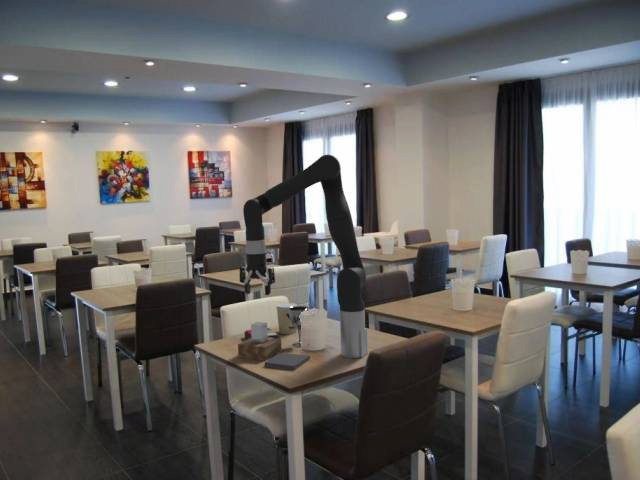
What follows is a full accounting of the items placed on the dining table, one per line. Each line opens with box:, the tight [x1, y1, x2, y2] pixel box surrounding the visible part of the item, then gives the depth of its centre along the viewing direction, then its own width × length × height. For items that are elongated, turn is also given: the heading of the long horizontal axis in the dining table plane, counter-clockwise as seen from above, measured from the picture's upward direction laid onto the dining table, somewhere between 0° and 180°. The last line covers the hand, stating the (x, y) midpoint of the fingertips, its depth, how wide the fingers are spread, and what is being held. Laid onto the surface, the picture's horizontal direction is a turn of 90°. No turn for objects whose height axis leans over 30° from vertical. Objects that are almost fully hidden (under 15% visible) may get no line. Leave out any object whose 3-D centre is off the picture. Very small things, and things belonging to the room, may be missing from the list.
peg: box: [250, 321, 268, 344], centre depth 205 cm, size 4×4×12 cm
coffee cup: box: [276, 302, 298, 335], centre depth 236 cm, size 9×9×12 cm
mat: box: [264, 352, 311, 371], centre depth 193 cm, size 12×12×2 cm
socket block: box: [237, 337, 283, 361], centre depth 205 cm, size 12×12×5 cm
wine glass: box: [289, 305, 310, 348], centre depth 215 cm, size 8×8×15 cm
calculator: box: [244, 327, 279, 340], centre depth 225 cm, size 11×4×15 cm
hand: (257, 294), depth 203 cm, fingers open, 8 cm apart
